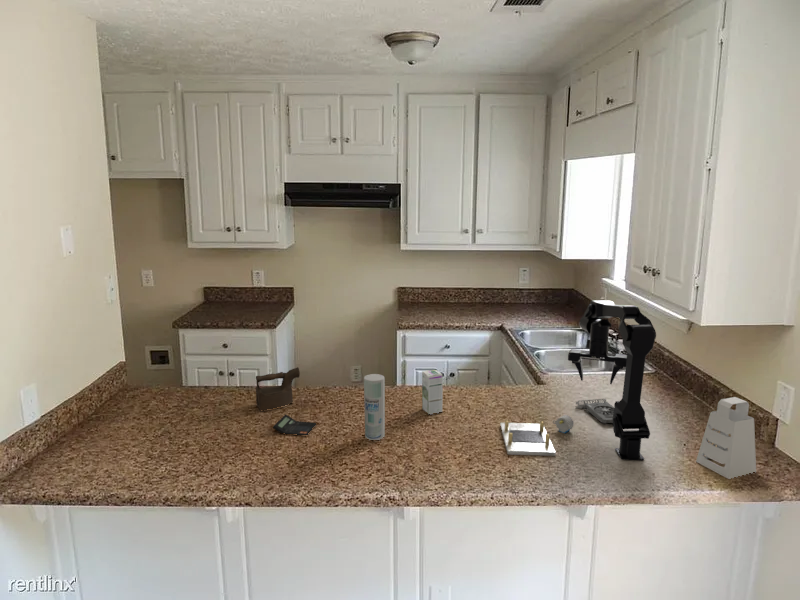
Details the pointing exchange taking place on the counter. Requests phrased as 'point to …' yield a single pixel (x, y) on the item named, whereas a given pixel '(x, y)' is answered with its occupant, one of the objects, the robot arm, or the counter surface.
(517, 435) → the chassis plate
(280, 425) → the calculator
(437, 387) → the syrup box
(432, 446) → the counter surface
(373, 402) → the spray can
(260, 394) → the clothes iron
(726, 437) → the grater
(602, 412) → the graphics card
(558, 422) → the electric motor
